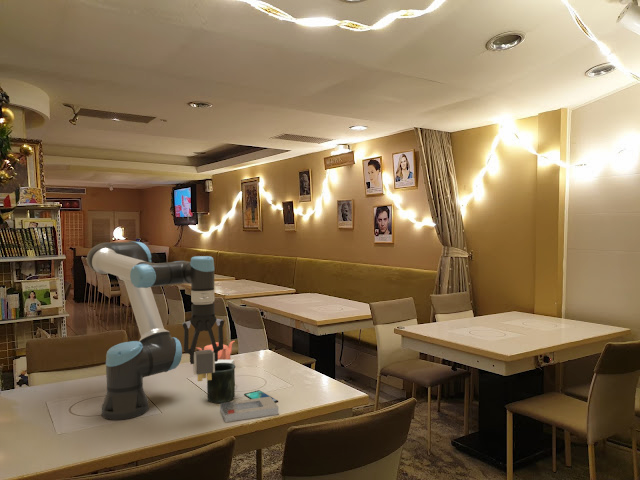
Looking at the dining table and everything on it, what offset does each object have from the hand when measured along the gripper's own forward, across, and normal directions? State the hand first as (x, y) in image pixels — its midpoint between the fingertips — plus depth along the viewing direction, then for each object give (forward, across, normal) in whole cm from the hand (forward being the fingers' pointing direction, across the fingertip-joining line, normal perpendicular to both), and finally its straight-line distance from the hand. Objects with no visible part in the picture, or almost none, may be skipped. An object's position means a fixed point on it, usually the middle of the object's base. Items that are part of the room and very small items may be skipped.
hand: (204, 372), depth 156 cm
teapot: (+16, +13, +60) cm, 63 cm away
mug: (+16, +8, +19) cm, 26 cm away
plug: (+2, 0, 0) cm, 2 cm away
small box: (+16, +11, +30) cm, 36 cm away
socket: (+16, +15, 0) cm, 22 cm away
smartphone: (+16, +22, +12) cm, 30 cm away
